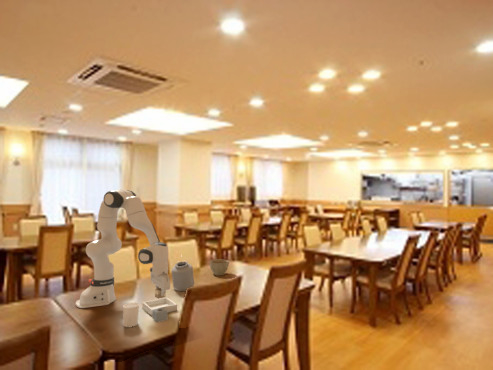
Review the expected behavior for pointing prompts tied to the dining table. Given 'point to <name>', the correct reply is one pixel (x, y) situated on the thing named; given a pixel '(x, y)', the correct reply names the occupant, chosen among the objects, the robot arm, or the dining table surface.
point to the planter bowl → (219, 266)
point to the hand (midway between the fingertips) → (160, 294)
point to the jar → (182, 276)
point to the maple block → (157, 293)
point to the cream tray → (159, 305)
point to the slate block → (159, 314)
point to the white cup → (130, 314)
